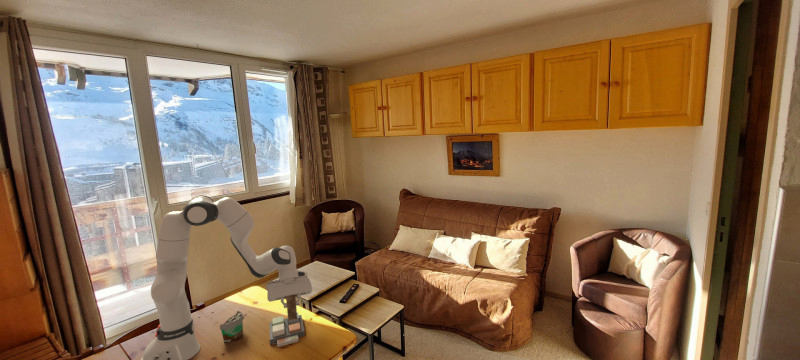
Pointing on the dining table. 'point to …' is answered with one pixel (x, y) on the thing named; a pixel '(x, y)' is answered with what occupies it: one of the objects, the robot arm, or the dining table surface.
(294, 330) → the key terracotta
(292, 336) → the keypad
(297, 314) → the key slate
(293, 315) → the dark brown block
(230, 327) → the food container
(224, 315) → the dining table surface
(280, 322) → the key sage
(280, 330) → the key cream
